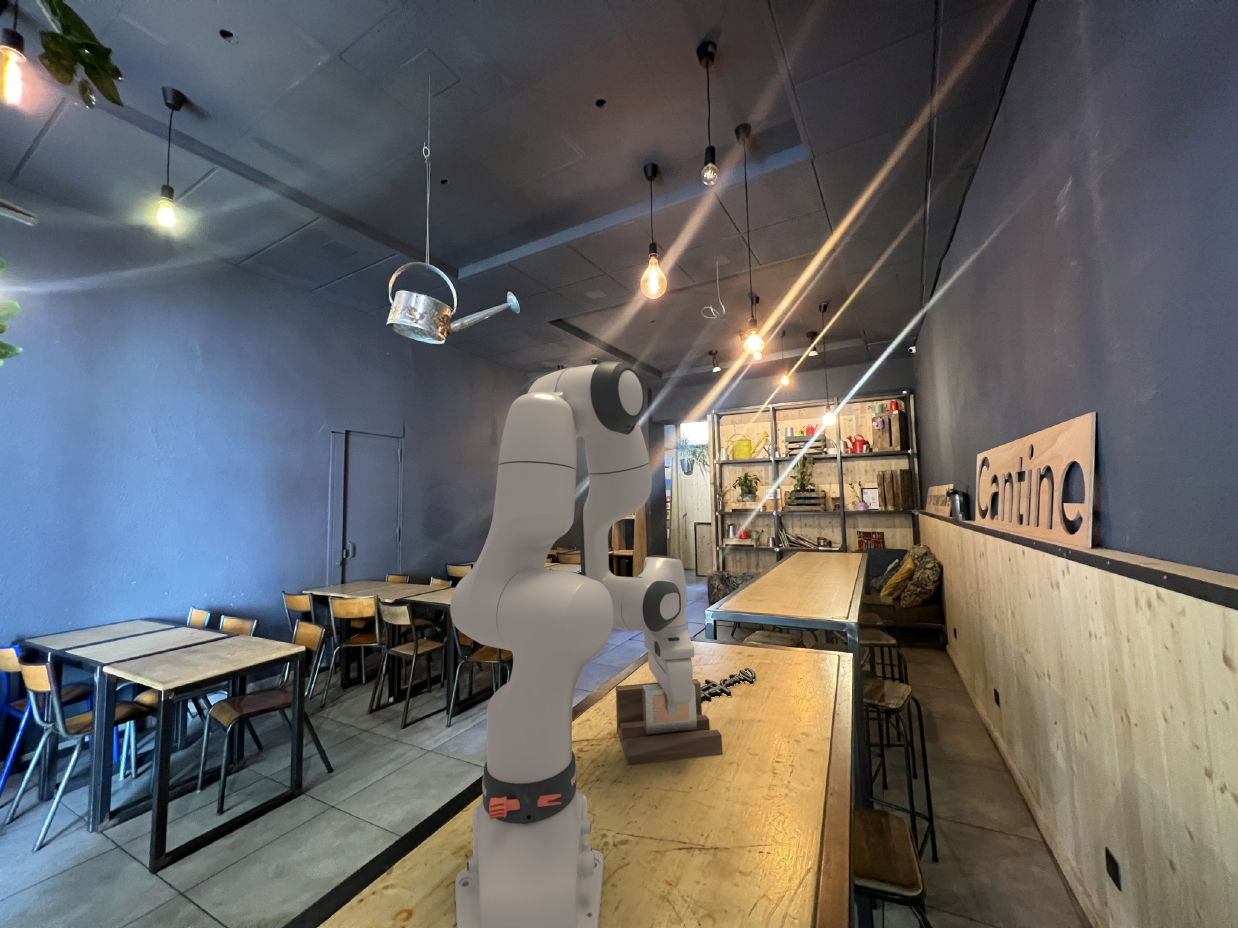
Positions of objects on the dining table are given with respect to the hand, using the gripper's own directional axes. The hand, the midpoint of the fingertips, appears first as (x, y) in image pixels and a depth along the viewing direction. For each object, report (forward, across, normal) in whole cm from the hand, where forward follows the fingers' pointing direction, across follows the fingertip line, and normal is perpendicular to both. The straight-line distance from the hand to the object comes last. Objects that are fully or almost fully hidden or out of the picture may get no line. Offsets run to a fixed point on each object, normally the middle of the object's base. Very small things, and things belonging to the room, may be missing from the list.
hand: (669, 709), depth 94 cm
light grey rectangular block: (+4, 0, 0) cm, 4 cm away
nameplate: (+8, -27, +22) cm, 35 cm away
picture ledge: (+7, -2, 0) cm, 7 cm away
